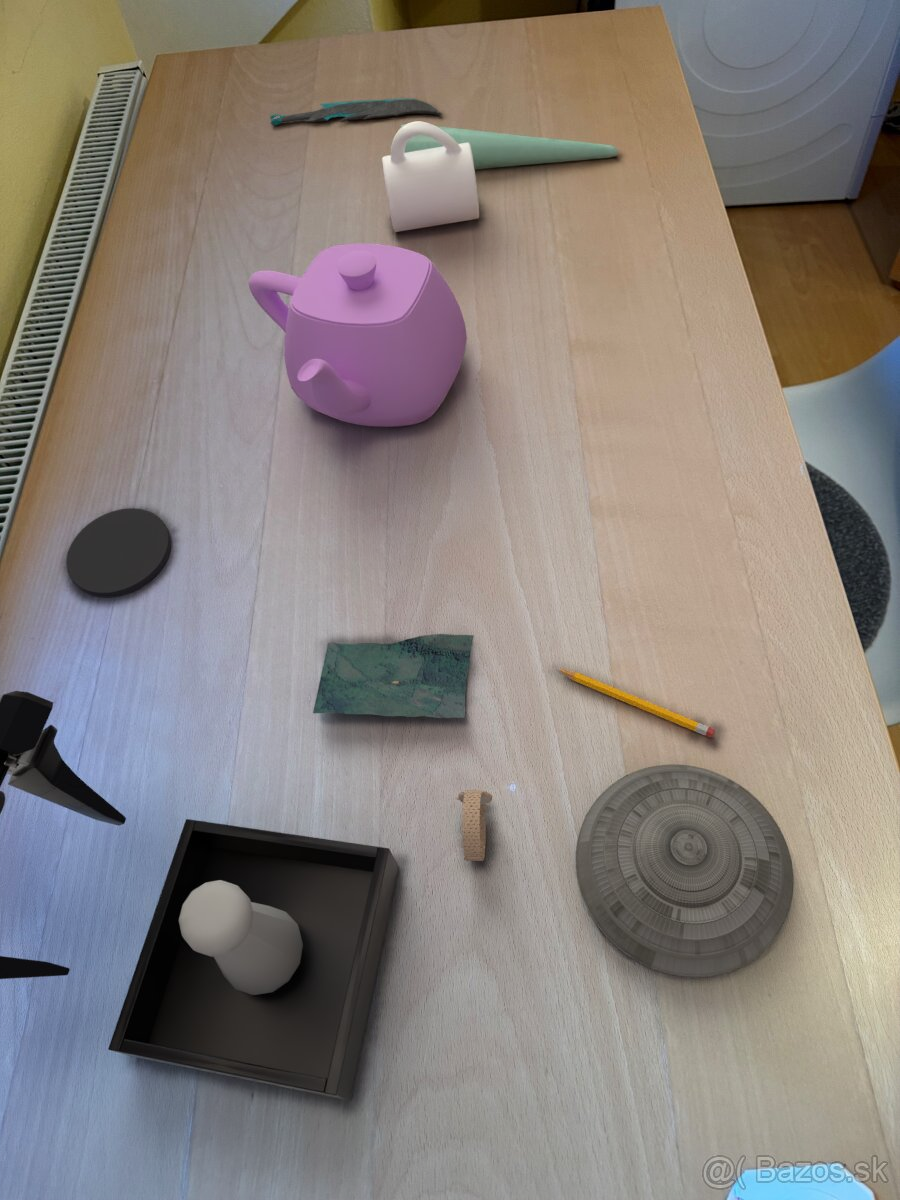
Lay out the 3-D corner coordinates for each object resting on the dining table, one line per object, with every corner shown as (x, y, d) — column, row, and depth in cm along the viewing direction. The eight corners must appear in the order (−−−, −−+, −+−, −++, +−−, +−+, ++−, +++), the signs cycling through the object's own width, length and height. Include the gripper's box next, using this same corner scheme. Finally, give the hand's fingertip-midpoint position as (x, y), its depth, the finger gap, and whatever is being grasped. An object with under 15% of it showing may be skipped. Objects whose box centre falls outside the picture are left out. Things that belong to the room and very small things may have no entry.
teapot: (308, 316, 103) (271, 195, 90) (484, 338, 98) (471, 214, 85) (223, 465, 92) (168, 351, 79) (417, 500, 87) (390, 384, 74)
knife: (275, 109, 128) (268, 129, 125) (272, 101, 127) (266, 121, 124) (445, 98, 125) (442, 118, 122) (444, 91, 124) (441, 111, 121)
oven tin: (135, 1057, 62) (107, 1049, 59) (206, 837, 70) (185, 818, 67) (351, 1101, 59) (336, 1095, 56) (399, 866, 68) (389, 848, 64)
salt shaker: (263, 900, 67) (204, 846, 56) (326, 940, 65) (276, 892, 54) (215, 973, 64) (142, 931, 54) (277, 1017, 62) (215, 983, 51)
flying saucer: (830, 857, 64) (850, 832, 60) (711, 1031, 59) (723, 1018, 55) (654, 735, 71) (659, 704, 66) (533, 882, 66) (530, 860, 61)
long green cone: (620, 125, 107) (397, 139, 111) (618, 169, 111) (404, 181, 115) (619, 100, 110) (402, 115, 113) (617, 144, 114) (409, 156, 118)
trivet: (82, 614, 84) (78, 609, 83) (60, 539, 89) (56, 534, 88) (183, 569, 85) (180, 564, 84) (156, 498, 90) (153, 493, 90)
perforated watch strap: (494, 807, 69) (489, 783, 65) (493, 869, 67) (488, 848, 62) (459, 807, 70) (452, 783, 65) (457, 869, 67) (450, 848, 63)
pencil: (711, 739, 70) (712, 736, 69) (553, 674, 75) (553, 670, 74) (714, 731, 70) (715, 727, 70) (557, 666, 75) (557, 662, 74)
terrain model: (315, 724, 75) (310, 713, 73) (329, 644, 79) (324, 632, 77) (469, 726, 73) (467, 715, 71) (475, 644, 77) (473, 633, 76)
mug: (481, 232, 108) (472, 135, 98) (396, 246, 108) (378, 151, 98) (473, 192, 112) (464, 95, 102) (391, 206, 113) (374, 110, 103)
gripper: (-278, 992, 38) (79, 1068, 45) (-68, 616, 48) (198, 728, 55) (-284, 993, 46) (19, 1057, 53) (-104, 671, 56) (132, 762, 63)
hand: (96, 893), depth 56 cm, fingers open, 9 cm apart
